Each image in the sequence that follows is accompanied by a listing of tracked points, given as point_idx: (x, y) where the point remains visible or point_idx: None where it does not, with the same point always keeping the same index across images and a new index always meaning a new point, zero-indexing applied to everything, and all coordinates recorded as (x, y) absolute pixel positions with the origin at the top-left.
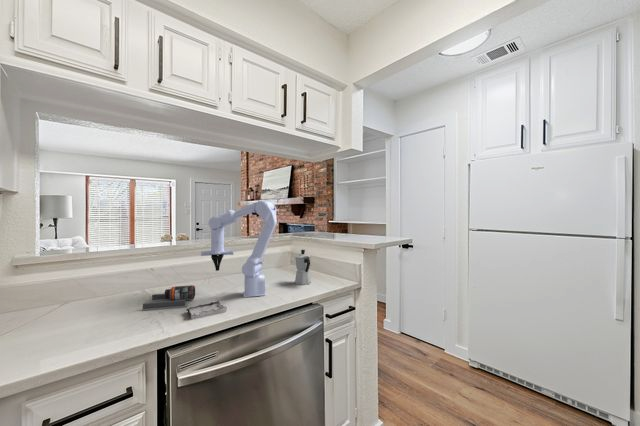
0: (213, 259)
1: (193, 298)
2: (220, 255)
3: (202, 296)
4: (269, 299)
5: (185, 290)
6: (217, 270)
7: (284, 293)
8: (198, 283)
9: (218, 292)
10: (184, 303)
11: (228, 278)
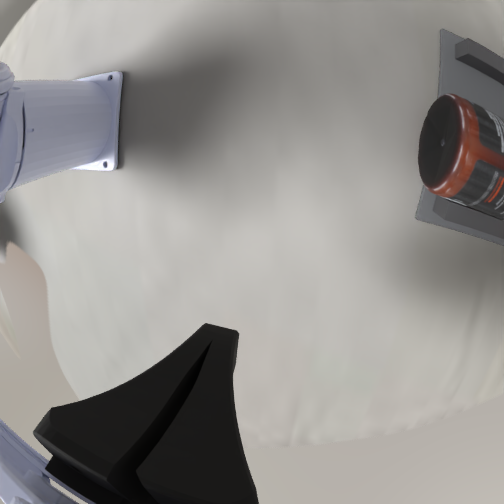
0: (220, 463)
1: (424, 121)
2: (87, 481)
3: (365, 187)
4: (49, 42)
5: (498, 119)
6: (218, 328)
7: None
8: (339, 414)
9: (258, 231)
10: (461, 42)
11: None
